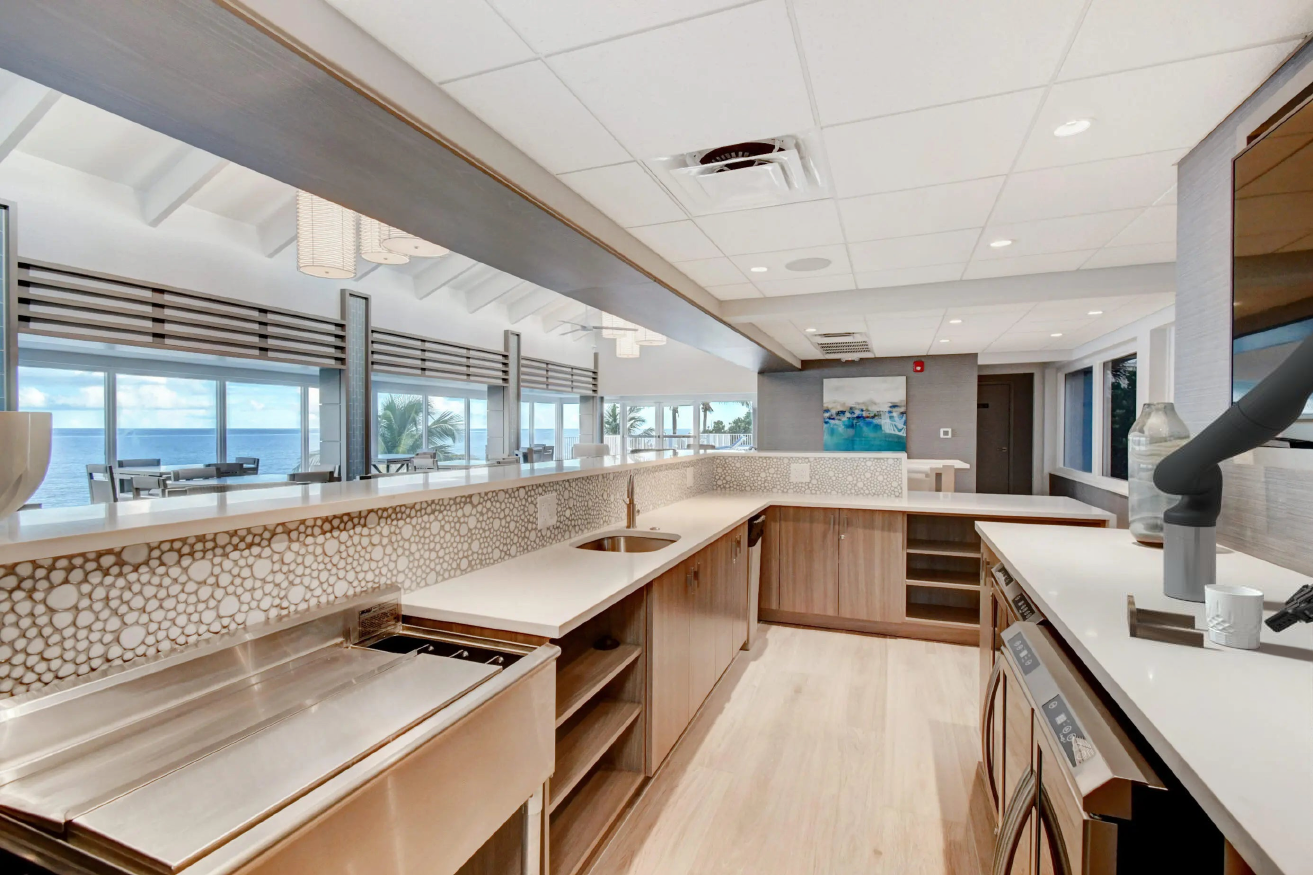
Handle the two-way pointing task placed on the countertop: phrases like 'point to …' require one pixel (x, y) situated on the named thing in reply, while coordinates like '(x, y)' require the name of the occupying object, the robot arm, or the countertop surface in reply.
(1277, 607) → the countertop surface
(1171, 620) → the walnut bay
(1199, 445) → the robot arm
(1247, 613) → the white cup
